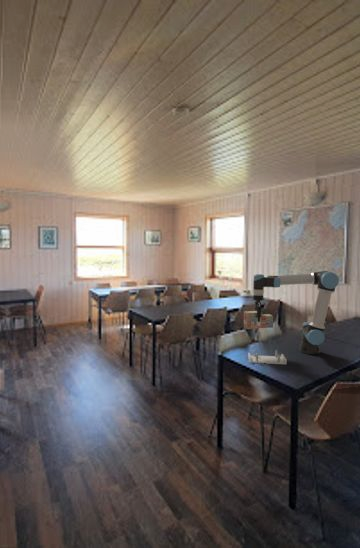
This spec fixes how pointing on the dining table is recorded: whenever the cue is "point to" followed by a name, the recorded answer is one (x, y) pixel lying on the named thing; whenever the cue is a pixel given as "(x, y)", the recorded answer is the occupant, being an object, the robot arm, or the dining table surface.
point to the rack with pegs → (267, 358)
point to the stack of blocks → (251, 320)
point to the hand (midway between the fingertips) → (257, 324)
